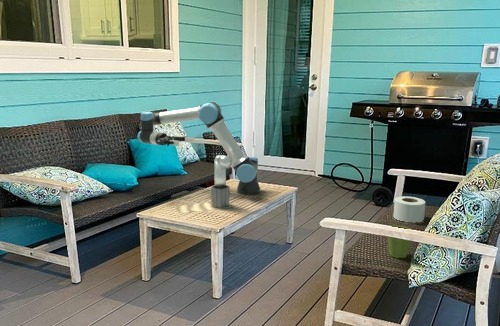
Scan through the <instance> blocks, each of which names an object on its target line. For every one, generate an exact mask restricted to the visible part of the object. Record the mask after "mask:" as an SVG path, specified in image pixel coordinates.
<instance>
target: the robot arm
mask: <svg viewBox="0 0 500 326" xmlns="http://www.w3.org/2000/svg"><path fill="white" fill-rule="evenodd" d="M193 120H194V121H195V120H200V121H201V122H202V123H204V125H205V126H206V128H207V129H208V130H211V131H212V133H213V134H214V135H215V137H216V139H217V140H218V142H219V143H220V145H221V146H222V148H223V150H224V151H225V153H226V154H227V156H231V158H232V165H231V167H232V168H233V169H234V172H235V173H236V178H237V179H238V183H237V187H236V192H237V193H238V194H241V195H247V196H249V195H251V196H252V195H257V194H260V193H261V187H260V184H259V181H258V180H259V179H258V178H259V177H258V173H259V172H258V170H259V159H258V157H256V156H248V155H245V154H244V152H243V150H242V149H241V147H240V146H239V144H238V142H237V141H236V140H235V137H234V136H233V135H232V133H231V131H230V130H229V128H228V127H227V126H226V125H227V124H225V117H224V116H223V114H222V108H221V107H220V105H219V104H218V103H217V102H214V101H212V102H206V103H204V104H200V105H198V106H196V107H188V108H181V109H176V110H169V111H160V112H153V111H141V112H140V130H139V131H138V133H137V136H136V138H137V140H138V142H140V143H142V144H148V145H155V146H167V147H169V146H178V147H179V146H180V143H181V142H184V143H191V144H194V143H195V138H194V137H188V136H187V135H185V136H171V135H167V133H165V132H158V131H154V126H157V125H159V126H160V125H165V124H171V123H178V122H180V123H181V122H187V121H193Z"/></svg>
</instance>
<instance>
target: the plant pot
mask: <svg viewBox="0 0 500 326" xmlns="http://www.w3.org/2000/svg"><path fill="white" fill-rule="evenodd" d="M391 226H392V227H398V228H404V229H411V230H413V229H412V228H409V227H407V226H404V225H403V226H402V225H391ZM411 242H412V240H411V241H407V240H402V239H397V238H392V237H388V236H387V244H388V245H387V246H388V254H389V256H390V257H393V258H395V259H406V258H407V257H408V253H409V249H410V246H411Z"/></svg>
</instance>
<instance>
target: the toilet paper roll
mask: <svg viewBox="0 0 500 326" xmlns="http://www.w3.org/2000/svg"><path fill="white" fill-rule="evenodd" d="M393 204H394V205H393V216H392V217H394V218H395V219H397V220H400V221H405V222H413V223H415V222H422V221H423V220H424V221H425V212H426V211H425V210H426V204H427V203H426V201H425V200H424V199H422V198H418V197H414V196H404V195H402V196H397V197H395V198H394V203H393ZM394 218H393V219H394ZM395 219H394V220H395ZM424 221H423V222H424ZM423 222H422V223H423Z"/></svg>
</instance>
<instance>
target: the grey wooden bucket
mask: <svg viewBox="0 0 500 326" xmlns="http://www.w3.org/2000/svg"><path fill="white" fill-rule="evenodd" d="M210 193H211V194H210V196H211V197H210V198H211V201H210V203H211V206H212V207H215V208H221V209H227V208H226V207H229V205H230V186H229V185H227V184H226V188H222V189H218V188H215V184H214V185H212V186H211V188H210Z"/></svg>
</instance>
